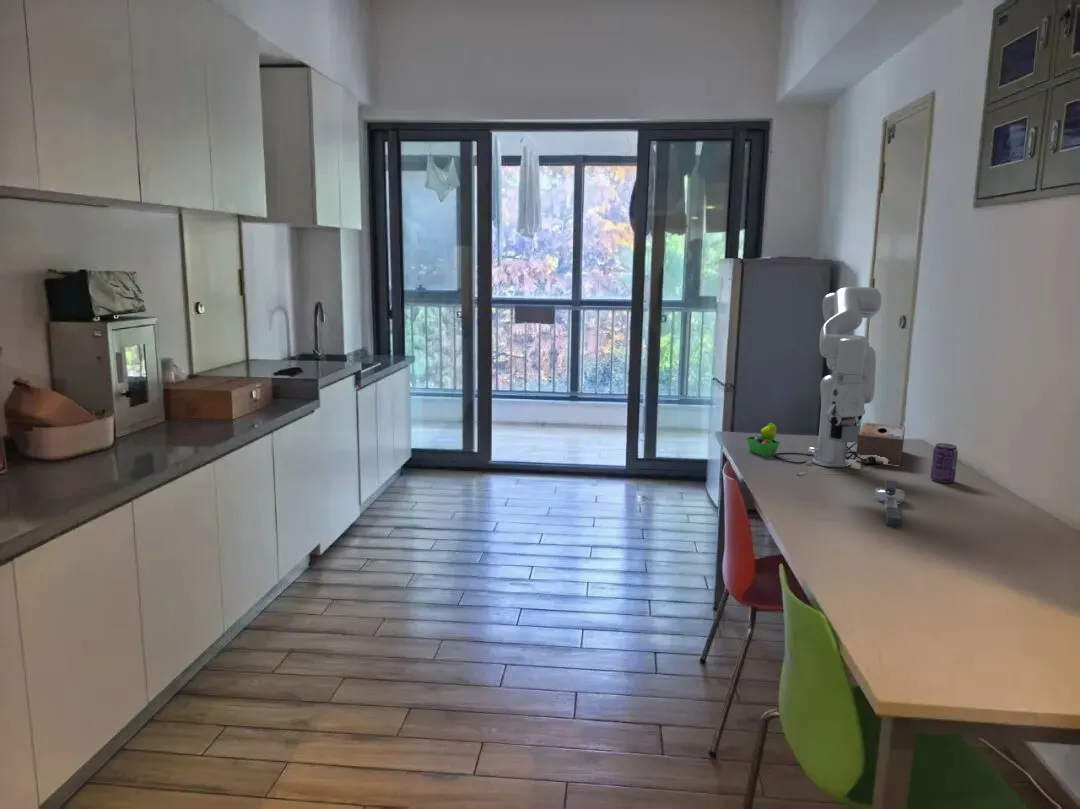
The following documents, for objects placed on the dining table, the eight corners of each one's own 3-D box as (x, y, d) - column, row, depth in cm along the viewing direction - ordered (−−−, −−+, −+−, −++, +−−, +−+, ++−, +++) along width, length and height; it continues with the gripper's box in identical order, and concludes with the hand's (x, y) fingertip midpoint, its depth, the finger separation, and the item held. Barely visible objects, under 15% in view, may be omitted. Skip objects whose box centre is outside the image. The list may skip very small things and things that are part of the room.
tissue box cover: (899, 467, 270) (902, 439, 268) (855, 462, 276) (858, 434, 275) (902, 452, 293) (905, 426, 291) (861, 447, 299) (863, 422, 297)
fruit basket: (744, 450, 290) (746, 420, 288) (765, 448, 293) (767, 419, 290) (761, 457, 279) (764, 427, 277) (782, 456, 282) (785, 426, 280)
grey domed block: (843, 443, 232) (845, 420, 231) (828, 438, 237) (830, 416, 236) (857, 441, 234) (859, 419, 233) (842, 437, 240) (844, 415, 238)
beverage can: (948, 478, 256) (953, 443, 254) (958, 484, 249) (962, 448, 247) (926, 477, 257) (930, 442, 255) (935, 483, 250) (939, 447, 248)
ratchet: (909, 529, 205) (912, 506, 204) (877, 525, 208) (879, 502, 207) (902, 498, 233) (905, 477, 232) (874, 495, 236) (876, 474, 235)
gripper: (836, 382, 225) (831, 442, 229) (879, 379, 233) (873, 437, 236) (817, 378, 232) (812, 437, 235) (859, 375, 239) (854, 432, 243)
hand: (843, 436), depth 236 cm, fingers closed on grey domed block, 5 cm apart
